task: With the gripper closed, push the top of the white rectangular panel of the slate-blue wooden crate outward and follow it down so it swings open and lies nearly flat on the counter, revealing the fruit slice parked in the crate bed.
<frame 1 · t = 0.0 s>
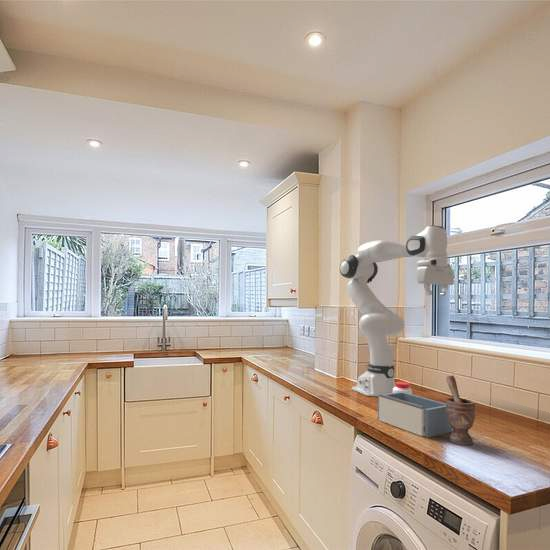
hand: (436, 295, 168), 48 cm above the countertop, fingers open, 8 cm apart
pill bottle: (402, 410, 164), on the countertop
fruit slice: (426, 430, 139), resting in crate
crate: (412, 425, 143), on the countertop
mortar and pestle: (456, 440, 129), on the countertop
white rectangular panel: (400, 413, 140), point 5 cm above the countertop, hinge at 0.0°
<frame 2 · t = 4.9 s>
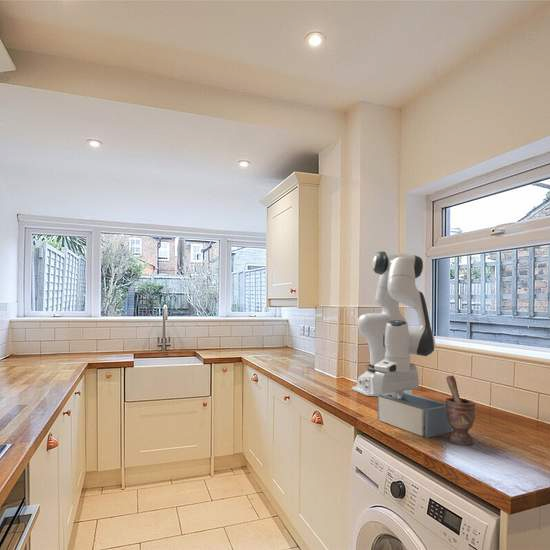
hand: (397, 403, 144), 8 cm above the countertop, fingers closed
white rectangular panel: (399, 413, 140), point 5 cm above the countertop, hinge at 1.2°, touching gripper
everything else where it was.
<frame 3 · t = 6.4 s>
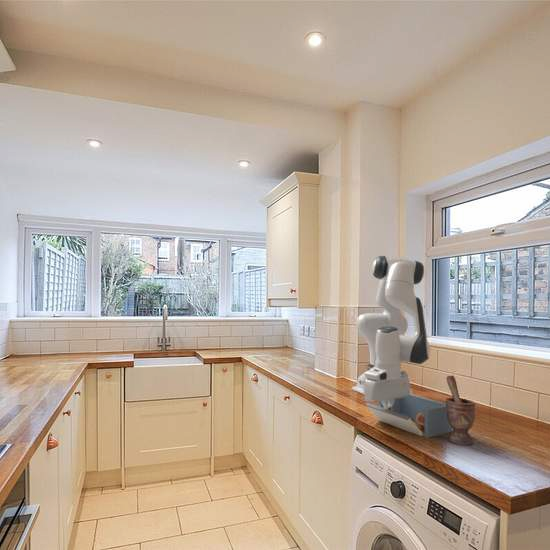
hand: (387, 411, 140), 6 cm above the countertop, fingers closed
white rectangular panel: (392, 418, 138), point 4 cm above the countertop, hinge at 46.8°, touching gripper
everything else where it was.
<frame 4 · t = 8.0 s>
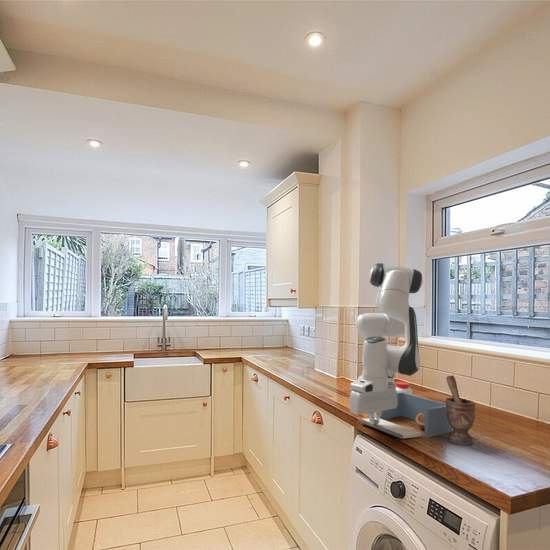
hand: (374, 423, 137), 2 cm above the countertop, fingers closed
white rectangular panel: (389, 427, 137), point 1 cm above the countertop, hinge at 84.9°
everything else where it was.
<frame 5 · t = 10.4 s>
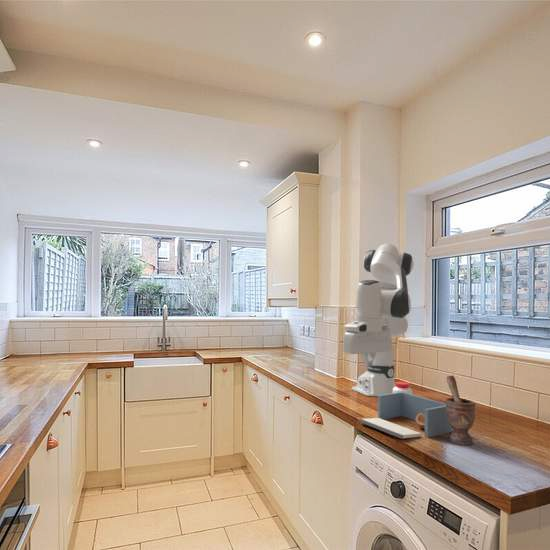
hand: (368, 365, 138), 22 cm above the countertop, fingers closed
nothing on the countertop moved.
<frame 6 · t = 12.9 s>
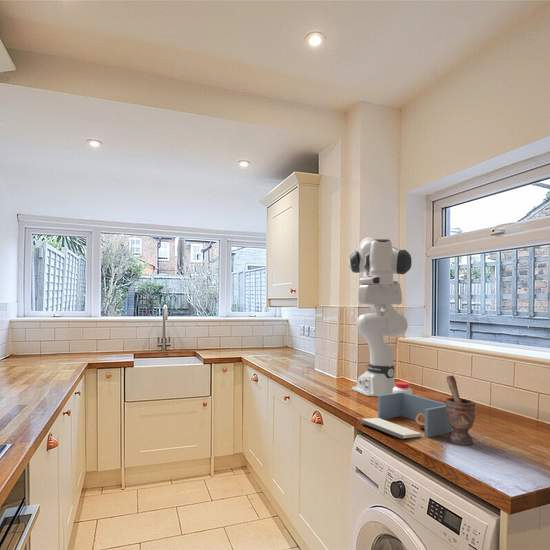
hand: (380, 316, 151), 39 cm above the countertop, fingers closed
nothing on the countertop moved.
at the end: white rectangular panel at +85° (first picture: +0°); white rectangular panel touching nothing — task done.
